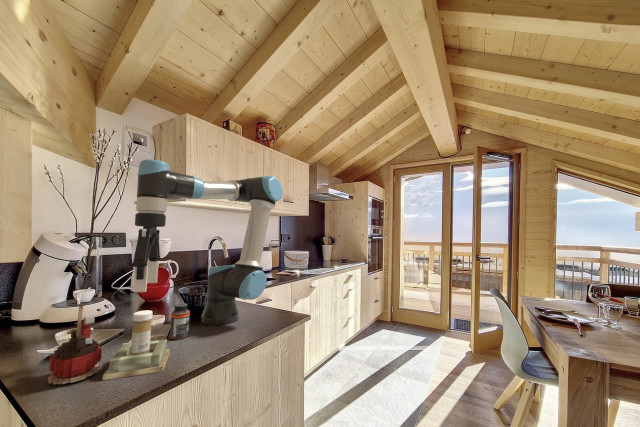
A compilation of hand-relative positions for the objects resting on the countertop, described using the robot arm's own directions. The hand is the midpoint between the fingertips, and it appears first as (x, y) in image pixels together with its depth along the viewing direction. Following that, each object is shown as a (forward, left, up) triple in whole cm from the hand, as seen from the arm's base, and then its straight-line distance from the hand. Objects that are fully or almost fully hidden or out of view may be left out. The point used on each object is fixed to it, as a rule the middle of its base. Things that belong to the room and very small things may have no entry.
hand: (146, 287), depth 75 cm
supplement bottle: (-7, -19, -21) cm, 30 cm away
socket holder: (0, 0, -21) cm, 21 cm away
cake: (+14, +2, -22) cm, 26 cm away
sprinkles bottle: (0, +1, -20) cm, 20 cm away
